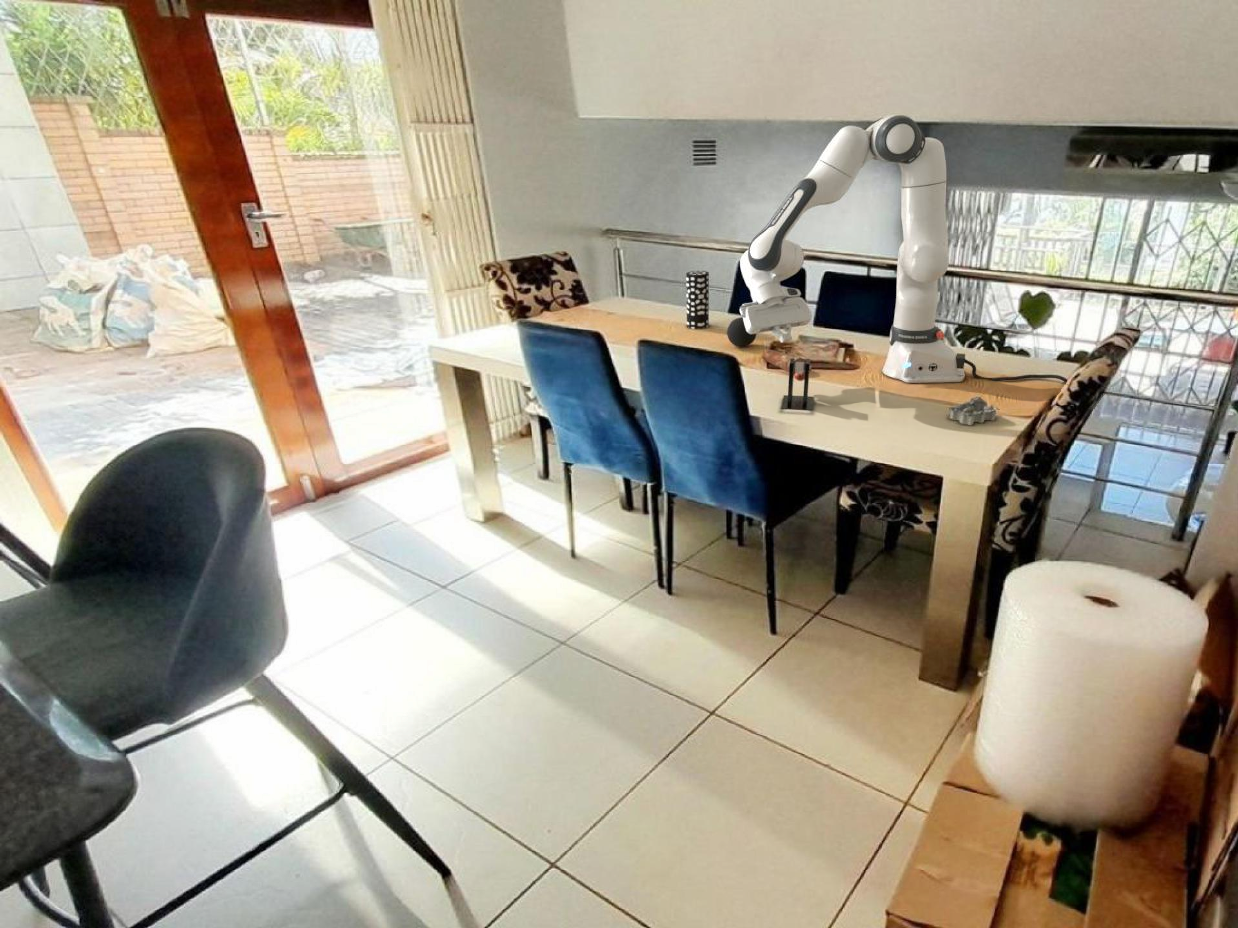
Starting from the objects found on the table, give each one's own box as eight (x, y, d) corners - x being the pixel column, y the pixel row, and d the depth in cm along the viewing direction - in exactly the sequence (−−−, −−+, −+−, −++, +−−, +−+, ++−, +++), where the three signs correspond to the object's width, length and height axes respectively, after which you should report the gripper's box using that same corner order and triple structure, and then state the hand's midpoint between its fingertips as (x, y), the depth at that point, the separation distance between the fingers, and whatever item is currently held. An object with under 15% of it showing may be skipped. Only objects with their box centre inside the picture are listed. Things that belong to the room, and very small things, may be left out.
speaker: (751, 351, 236) (752, 322, 232) (723, 349, 241) (723, 320, 236) (759, 343, 244) (760, 315, 240) (732, 341, 248) (732, 313, 244)
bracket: (783, 399, 195) (785, 354, 190) (813, 400, 193) (816, 355, 188) (780, 412, 187) (782, 366, 181) (811, 414, 185) (814, 367, 179)
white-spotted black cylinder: (712, 324, 270) (712, 271, 262) (702, 329, 264) (702, 276, 255) (692, 322, 274) (692, 270, 266) (683, 327, 268) (682, 274, 260)
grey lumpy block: (978, 410, 181) (981, 395, 179) (1000, 420, 175) (1004, 405, 173) (943, 416, 179) (946, 401, 177) (964, 426, 172) (967, 411, 170)
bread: (790, 378, 211) (791, 360, 208) (758, 361, 227) (758, 344, 224) (808, 374, 212) (810, 356, 210) (775, 358, 229) (776, 341, 226)
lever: (794, 381, 197) (795, 370, 197) (805, 382, 196) (806, 371, 196) (792, 372, 184) (793, 360, 184) (805, 372, 183) (806, 360, 184)
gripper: (741, 298, 196) (759, 340, 192) (804, 288, 202) (822, 329, 198) (733, 310, 202) (750, 352, 198) (794, 301, 208) (812, 341, 204)
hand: (786, 341), depth 198 cm, fingers closed
